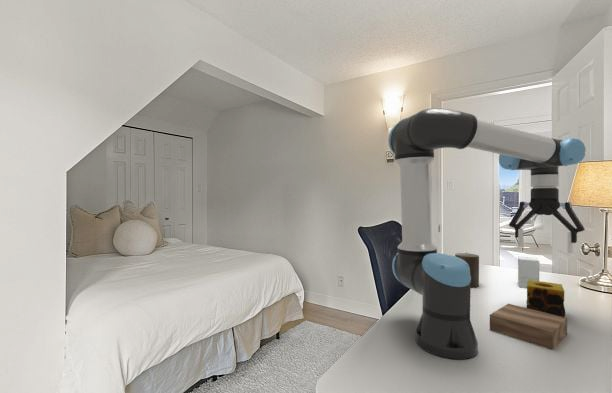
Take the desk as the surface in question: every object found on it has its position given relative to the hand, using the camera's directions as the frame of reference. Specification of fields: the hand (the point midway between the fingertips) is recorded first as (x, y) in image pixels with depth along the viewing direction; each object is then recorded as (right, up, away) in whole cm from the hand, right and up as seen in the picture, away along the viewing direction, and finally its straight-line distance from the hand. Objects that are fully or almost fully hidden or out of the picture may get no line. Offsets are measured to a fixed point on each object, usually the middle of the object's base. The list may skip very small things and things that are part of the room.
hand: (544, 249), depth 104 cm
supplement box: (+17, -22, +31) cm, 42 cm away
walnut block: (-16, -22, -14) cm, 31 cm away
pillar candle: (-9, -22, +33) cm, 41 cm away
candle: (0, -22, 0) cm, 22 cm away
